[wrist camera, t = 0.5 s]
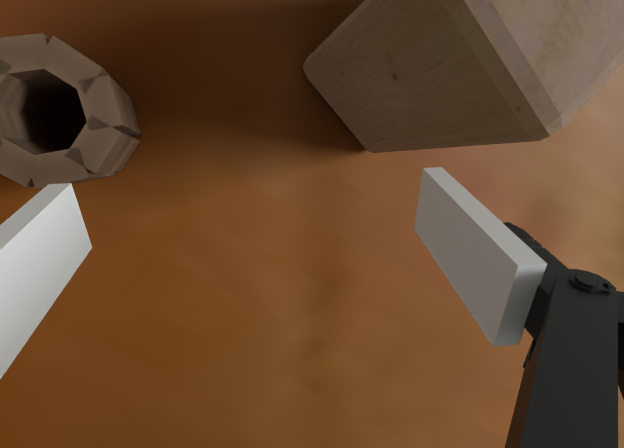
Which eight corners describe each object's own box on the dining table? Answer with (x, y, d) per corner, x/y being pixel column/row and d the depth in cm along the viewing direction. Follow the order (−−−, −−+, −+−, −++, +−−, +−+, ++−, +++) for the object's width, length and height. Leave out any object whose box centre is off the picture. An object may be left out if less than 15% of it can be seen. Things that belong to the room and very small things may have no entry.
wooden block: (294, 69, 33) (423, -61, 14) (376, -8, 34) (600, -227, 15) (368, 157, 36) (557, 149, 17) (441, 84, 37) (697, -1, 18)
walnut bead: (103, 199, 31) (71, 211, 23) (-6, 140, 28) (-82, 131, 20) (158, 113, 31) (145, 95, 23) (55, 46, 28) (3, 2, 21)
